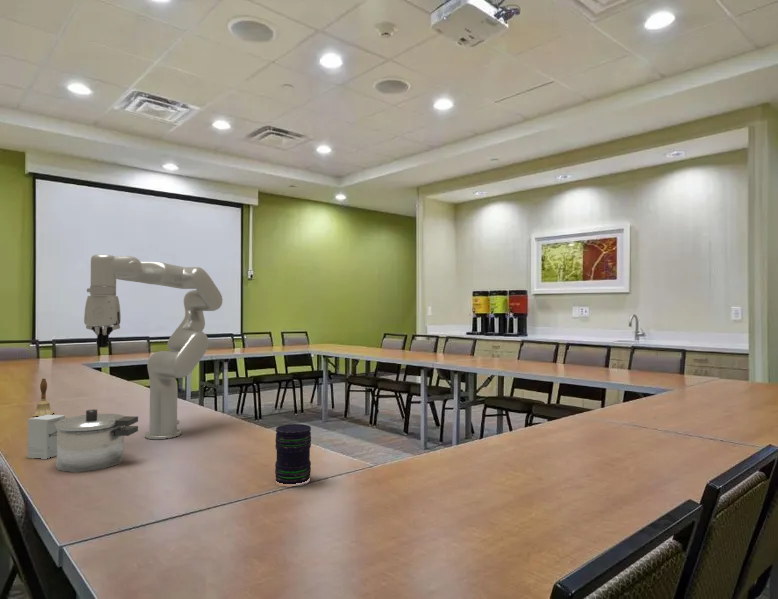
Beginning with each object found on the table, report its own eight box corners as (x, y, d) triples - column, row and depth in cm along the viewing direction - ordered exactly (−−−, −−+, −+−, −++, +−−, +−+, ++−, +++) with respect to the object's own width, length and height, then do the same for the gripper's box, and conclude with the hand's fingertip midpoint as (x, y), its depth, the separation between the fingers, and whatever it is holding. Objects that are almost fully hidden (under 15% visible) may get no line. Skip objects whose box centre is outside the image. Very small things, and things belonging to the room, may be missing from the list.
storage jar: (316, 477, 148) (317, 425, 148) (300, 489, 139) (300, 433, 139) (286, 474, 152) (286, 422, 152) (267, 484, 142) (268, 430, 142)
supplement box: (46, 459, 163) (47, 419, 163) (26, 458, 165) (27, 418, 165) (65, 453, 170) (66, 414, 171) (46, 452, 172) (47, 413, 172)
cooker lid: (79, 417, 170) (79, 404, 170) (147, 417, 170) (147, 404, 170) (40, 431, 151) (40, 416, 151) (117, 431, 151) (117, 417, 151)
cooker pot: (81, 453, 171) (82, 416, 171) (148, 453, 171) (148, 417, 171) (42, 471, 152) (43, 430, 152) (117, 472, 151) (118, 431, 152)
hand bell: (27, 416, 226) (27, 379, 226) (44, 412, 234) (45, 377, 234) (41, 417, 224) (42, 380, 224) (59, 413, 231) (59, 378, 232)
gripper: (74, 291, 169) (73, 347, 169) (119, 291, 169) (119, 348, 169) (87, 292, 177) (87, 345, 177) (131, 292, 177) (130, 346, 177)
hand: (102, 346), depth 173 cm, fingers closed
